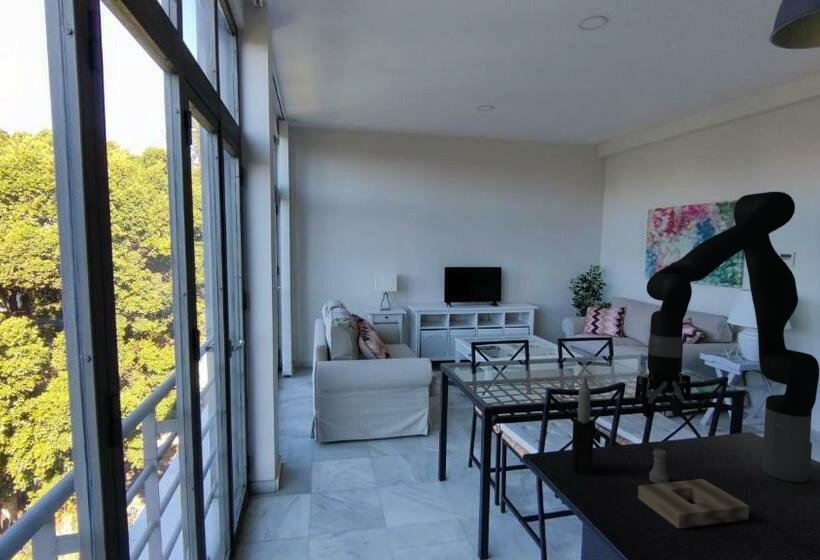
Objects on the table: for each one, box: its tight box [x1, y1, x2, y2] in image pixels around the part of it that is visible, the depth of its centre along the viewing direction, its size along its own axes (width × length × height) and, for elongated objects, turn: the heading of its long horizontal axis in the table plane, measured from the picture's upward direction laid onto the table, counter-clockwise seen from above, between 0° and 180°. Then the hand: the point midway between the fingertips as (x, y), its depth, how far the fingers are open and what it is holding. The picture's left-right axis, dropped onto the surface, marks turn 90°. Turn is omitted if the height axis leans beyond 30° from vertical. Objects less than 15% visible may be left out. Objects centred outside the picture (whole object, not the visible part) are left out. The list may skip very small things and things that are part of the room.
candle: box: [570, 377, 595, 476], centre depth 118 cm, size 5×5×25 cm
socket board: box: [637, 478, 750, 529], centre depth 101 cm, size 18×12×3 cm, turn 102°
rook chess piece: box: [648, 448, 670, 484], centre depth 113 cm, size 4×4×8 cm
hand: (661, 416), depth 112 cm, fingers open, 8 cm apart
